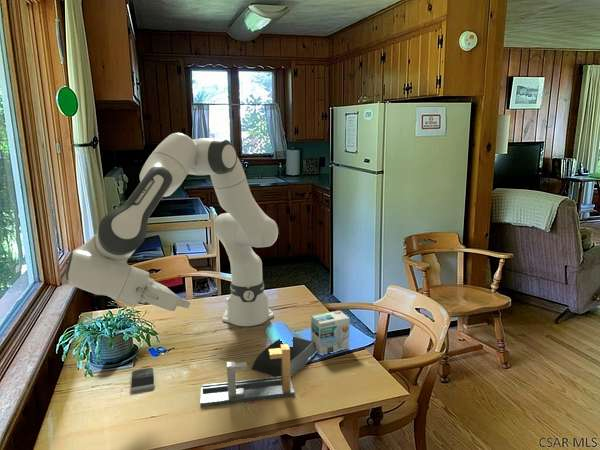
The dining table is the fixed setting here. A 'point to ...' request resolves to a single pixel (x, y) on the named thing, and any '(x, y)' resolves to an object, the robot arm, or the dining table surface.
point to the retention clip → (234, 378)
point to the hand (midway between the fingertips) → (188, 304)
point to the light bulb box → (330, 332)
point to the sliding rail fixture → (254, 385)
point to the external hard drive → (273, 366)
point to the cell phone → (142, 380)
